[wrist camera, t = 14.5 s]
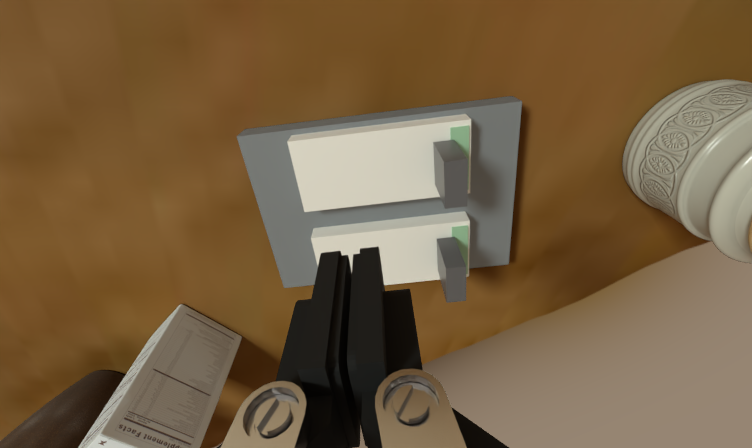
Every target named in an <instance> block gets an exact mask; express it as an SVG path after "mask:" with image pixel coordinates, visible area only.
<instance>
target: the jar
mask: <svg viewBox="0 0 752 448" xmlns="http://www.w3.org/2000/svg"><path fill="white" fill-rule="evenodd" d="M622 167H623V174H624V177H625V180H626V182H627V184H628V185H629V187H630V188H631V189H632V190H633V192H634V193H635V194H636V195H637V196H638V197H639V198H640V199H641V200H643V201H644V202H646V203H647V204H648V205H650V206H652V207H654V208H657V209H660V210H661V211H663V212H664V213H666V214H667V215H669V216H670V217H672V218H674V219H675V220H677V221H678V222H680V223H681V224H683V225H684V226H685V228H686V229H687V230H688V231H689V232H691V233H692V234H694V235H695V236H697V237H699V238H702V239H705V240H709V241H713V243H714V245H715V246H716V247H717V249H718V250H720V251H721V252H722V253H723V254H724V255H726V256H728V257H729V258H731V259H734V260H737V261H740V262H745V263H752V83H750V82H746V81H738V80H716V81H704V82H699V83H695V84H691V85H689V86H686V87H684V88H681V89H679V90H677V91H675V92H673V93H672V94H670V95H668V96H667V97H665V98H664V99H662V100H661V101H660V102H658V103H657V104H656V105H655V106H654V107H653V108H651V109H650V110H649V111H648V112H647V113H646V114H645V116H644V117H643V118H642V119H641V120H640V122H639V123H638V124H637V126H636V127H635V128H634V130H633V132H632V133H631V135H630V137H629V139H628V142H627V144H626V147H625V150H624V154H623V162H622Z"/></svg>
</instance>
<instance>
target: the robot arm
mask: <svg viewBox="0 0 752 448" xmlns="http://www.w3.org/2000/svg"><path fill="white" fill-rule="evenodd" d="M360 425H361V429H362V433H363V437H364V441H365V445H366V446H368V448H509V447H507V446H505V445H504V444H503V443H501V442H500V441H499V440H497V439H496V438H494V437H493V436H492V435H490V434H489V433H487V432H486V431H484V430H483V429H482V428H480V427H479V426H477V425H476V424H474V423H473V422H472V421H470V420H469V419H467V418H466V417H464V416H463V415H462V414H460V413H459V412H457V411H456V410H454V409H453V408H452V407H451V405H450V402H449V400H448V397H447V394H446V392H445V390H444V388H443V386H442V385H441V383H440V382H439V381H438V380H437V379H436V378H435V377H434V376H433V375H431V374H429V373H427V372H425V371H423V370H422V363H421V357H420V350H419V344H418V338H417V331H416V325H415V318H414V312H413V306H412V299H411V293H410V289H404V290H394V291H385V288H384V281H383V273H382V266H381V259H380V251H379V247H370V248H361V249H360V254H353V264H352V272H351V267H350V261H349V257H348V255H342V254H341V251H333V252H324V253H321V255H320V259H319V264H318V269H317V274H316V279H315V284H314V289H313V294H312V299H307V300H298V301H297V302H296V304H295V307H294V311H293V315H292V319H291V323H290V327H289V331H288V335H287V339H286V343H285V347H284V351H283V354H282V358H281V362H280V366H279V370H278V374H277V378H276V382H271V383H269V384H266V385H263V386H262V387H260V388H258V389H257V390H255V391H254V392H253V393H252V394H251V395H250V396H249V397H248V398H247V399H246V400H245V401H244V402H243V404H242V405H241V407H240V409H239V410H238V412H237V414H236V416H235V419H234V421H233V423H232V425H231V427H230V429H229V431H228V433H227V435H226V437H225V439H224V442H223V443H222V444H221V445H220V446H219V447H217V448H352V447H359V445H360Z"/></svg>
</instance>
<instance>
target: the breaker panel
mask: <svg viewBox="0 0 752 448" xmlns="http://www.w3.org/2000/svg"><path fill="white" fill-rule="evenodd" d="M521 108H522V101H521V100H519V99H517V98H515V97H513V96H509V97H501V98H493V99H484V100H476V101H468V102H460V103H452V104H444V105H436V106H428V107H420V108H412V109H404V110H396V111H388V112H380V113H372V114H364V115H356V116H348V117H340V118H332V119H324V120H316V121H308V122H300V123H292V124H284V125H276V126H268V127H260V128H252V129H245V130H244V131H242V132H241V133H240V134H239V135H238V136H237V139H238V142H239V146H240V149H241V152H242V155H243V158H244V161H245V165H246V168H247V171H248V174H249V177H250V181H251V184H252V187H253V190H254V193H255V196H256V200H257V203H258V206H259V209H260V212H261V216H262V219H263V222H264V225H265V228H266V231H267V235H268V238H269V241H270V244H271V247H272V251H273V254H274V257H275V260H276V263H277V266H278V270H279V273H280V276H281V279H282V282H283V286H284V288H289V287H298V286H308V285H314V284H315V279H316V274H317V269H318V264H319V259H320V255H321V253H324V252H333V251H341V254H342V255H348V257H349V261H350V267H351V272H352V264H353V254H360V249H361V248H370V247H379V251H380V259H381V266H382V273H383V281H384V285H391V284H401V283H410V282H420V281H429V280H439V279H440V276H439V273H438V263H437V239H438V238H448V237H455V240H456V242H457V245H458V247H459V250H460V252H461V255H462V257H463V260H464V262H465V265H466V277H467V276H469V268H478V267H487V266H497V265H506V264H509V255H510V243H511V230H512V218H513V206H514V194H515V182H516V169H517V157H518V145H519V133H520V121H521ZM447 140H455V142H456V143H457V145H458V146H459V147H460V149H461V150H462V152H463V153H464V154H465V156H466V157H467V159H468V197H467V207H458V208H449V209H445V208H444V205H443V203H442V200H441V198H440V195H439V193H438V191H437V188H436V186H435V174H434V148H433V142H438V141H447Z"/></svg>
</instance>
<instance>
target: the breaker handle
mask: <svg viewBox="0 0 752 448" xmlns="http://www.w3.org/2000/svg"><path fill="white" fill-rule="evenodd" d="M437 263H438V273H439V276H440V280H441V284H442V287H443V291H444V294H445V298H446V302H457V301H466V265H465V262H464V260H463V257H462V255H461V252H460V250H459V247H458V245H457V242H456V240H455V237H448V238H438V239H437Z"/></svg>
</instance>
